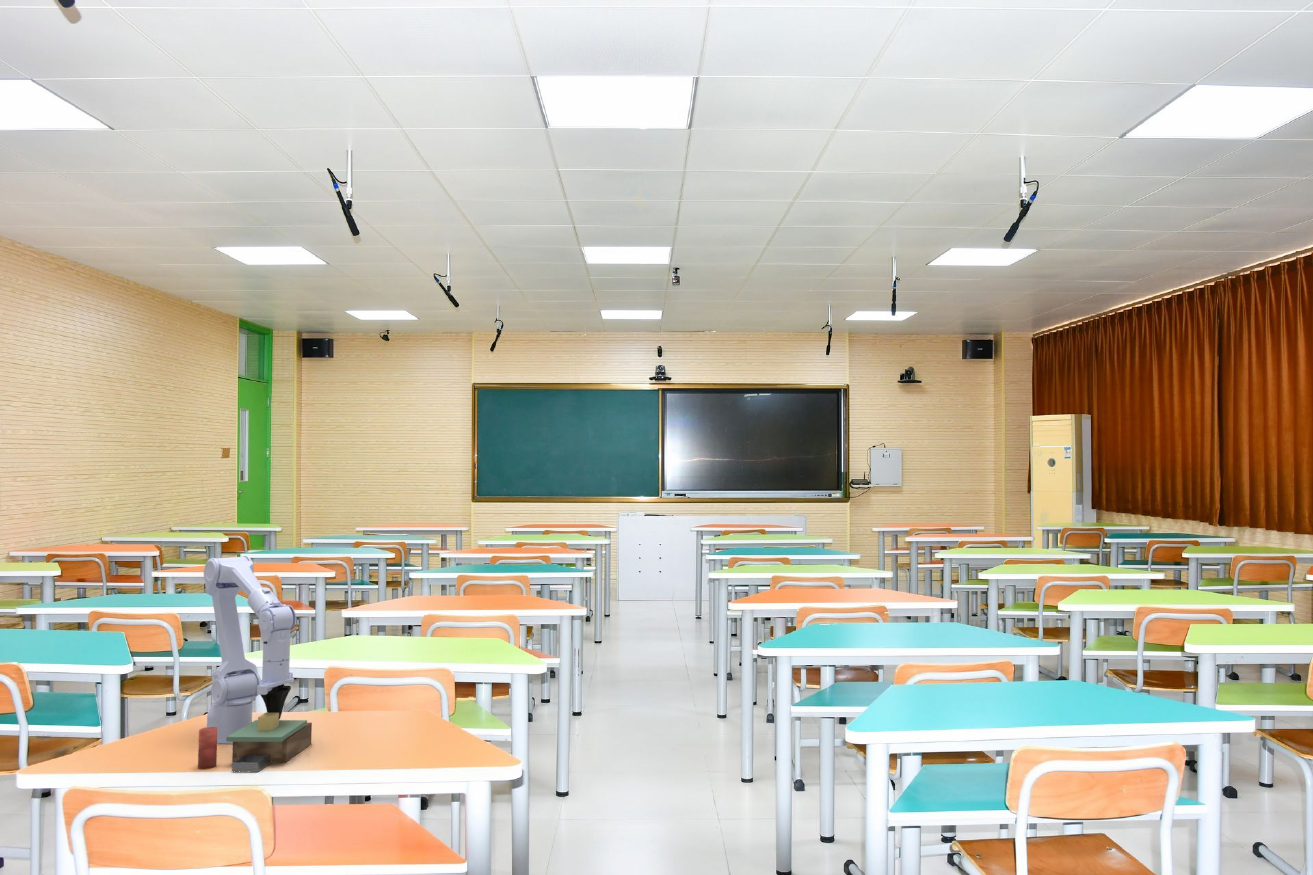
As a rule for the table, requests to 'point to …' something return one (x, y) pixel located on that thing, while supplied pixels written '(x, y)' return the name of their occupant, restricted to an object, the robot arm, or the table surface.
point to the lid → (267, 729)
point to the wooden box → (276, 746)
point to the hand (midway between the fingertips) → (274, 719)
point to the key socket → (251, 763)
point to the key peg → (207, 748)
